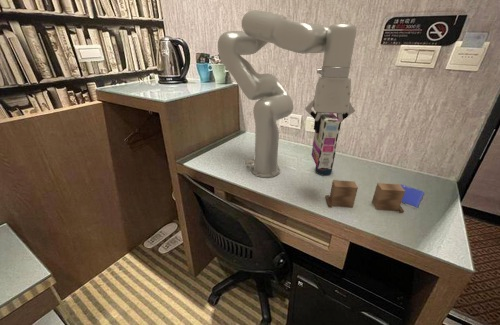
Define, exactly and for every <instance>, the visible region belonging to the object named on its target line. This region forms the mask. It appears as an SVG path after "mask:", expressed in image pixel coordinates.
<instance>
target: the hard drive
mask: <svg viewBox="0 0 500 325" xmlns="http://www.w3.org/2000/svg"><path fill="white" fill-rule="evenodd" d="M399 185H401V186H402V188H403V189H404V190H405V194H404V196H403V199H402V202H401V205H404V206H407V207H409V208H412V209H415V210H418V208H419V205H420V204H421V201H422V199H423V197H424V194H425V191H423V190H420V189H416V188H414V187H411V186H407V185H406V184H405V185H404V184H401V183H400V184H399Z"/></svg>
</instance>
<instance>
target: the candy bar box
mask: <svg viewBox="0 0 500 325" xmlns="http://www.w3.org/2000/svg"><path fill="white" fill-rule="evenodd" d="M319 119H320V127H319V133H316V131H315V130H314V134H313V140H312V148H311V157H312V159H313V162H314V163H315V167H316V166H317V168H318V169H332V170H333V168H332V166H333V167H334V163H333V160H334V161H335V158H334V155H335V156H336V148H337V145H338V144H337V143H338V137H339V133H340V131H339V128H340V129H341V126H340V123H341V124H342V122H341V121H340V120H339V119H338V118H337V115H335V113H322V114H321V116H320V118H319Z"/></svg>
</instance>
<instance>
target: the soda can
mask: <svg viewBox="0 0 500 325" xmlns="http://www.w3.org/2000/svg"><path fill="white" fill-rule="evenodd" d="M335 158H336V154H335V155H334V160H333V164H335V163H334V162H335ZM333 167H334V165H333V166H332V169H318V168H317V166H316V165H315V172H316V173H317V174H318V175H321V176H329V175H330V174H331V173H332V172H333Z"/></svg>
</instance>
